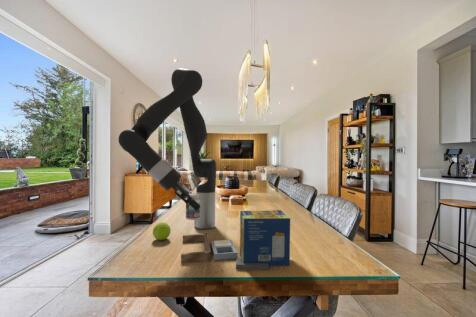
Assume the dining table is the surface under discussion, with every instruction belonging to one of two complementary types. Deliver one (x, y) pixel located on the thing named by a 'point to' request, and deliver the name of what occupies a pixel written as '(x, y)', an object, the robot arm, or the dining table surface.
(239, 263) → the grey flat block
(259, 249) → the protein box
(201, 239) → the frame
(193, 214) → the pill bottle
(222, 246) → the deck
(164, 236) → the tennis ball
